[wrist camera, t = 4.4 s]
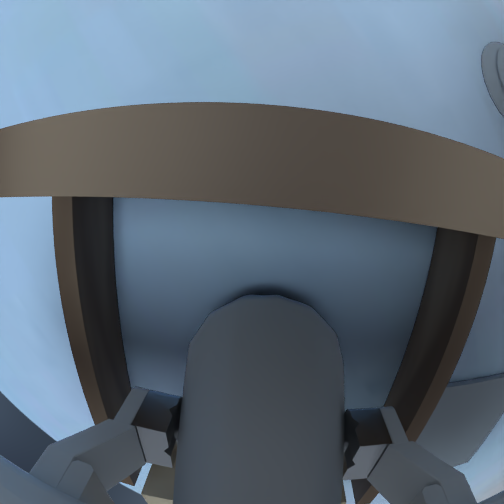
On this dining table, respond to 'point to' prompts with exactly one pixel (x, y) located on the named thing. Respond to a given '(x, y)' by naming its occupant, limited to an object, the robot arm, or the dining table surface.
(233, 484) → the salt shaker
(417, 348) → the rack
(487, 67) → the chalice
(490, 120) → the dining table surface
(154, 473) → the offcut upper
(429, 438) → the slate mat
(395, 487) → the robot arm
